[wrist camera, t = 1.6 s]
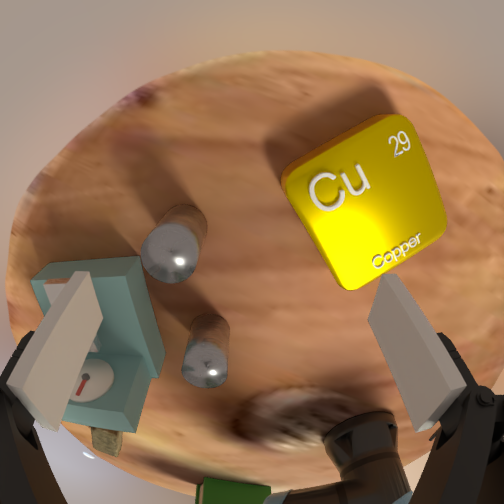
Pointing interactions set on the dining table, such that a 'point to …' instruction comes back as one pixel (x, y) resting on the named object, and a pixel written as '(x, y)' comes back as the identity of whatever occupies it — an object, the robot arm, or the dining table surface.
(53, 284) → the platform
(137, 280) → the scale body
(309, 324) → the dining table surface
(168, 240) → the cylinder
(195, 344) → the cylinder
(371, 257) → the element tile
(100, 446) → the stone block
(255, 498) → the hardback book
